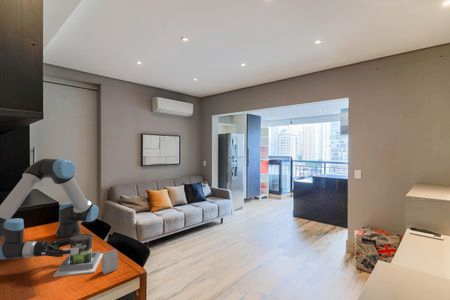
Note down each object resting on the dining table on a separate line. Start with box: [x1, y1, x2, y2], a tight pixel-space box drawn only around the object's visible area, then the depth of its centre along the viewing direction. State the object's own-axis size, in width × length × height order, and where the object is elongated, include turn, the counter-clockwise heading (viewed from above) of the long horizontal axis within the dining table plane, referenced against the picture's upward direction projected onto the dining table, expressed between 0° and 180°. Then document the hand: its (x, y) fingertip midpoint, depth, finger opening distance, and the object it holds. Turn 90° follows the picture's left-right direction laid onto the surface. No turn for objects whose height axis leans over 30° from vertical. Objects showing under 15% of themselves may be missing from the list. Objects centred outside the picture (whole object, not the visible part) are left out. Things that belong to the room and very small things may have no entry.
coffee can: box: [69, 233, 93, 265], centre depth 129 cm, size 10×10×14 cm
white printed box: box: [100, 248, 119, 275], centre depth 124 cm, size 4×7×10 cm, turn 138°
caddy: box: [52, 251, 104, 278], centre depth 129 cm, size 22×18×3 cm
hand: (82, 245), depth 129 cm, fingers open, 13 cm apart
